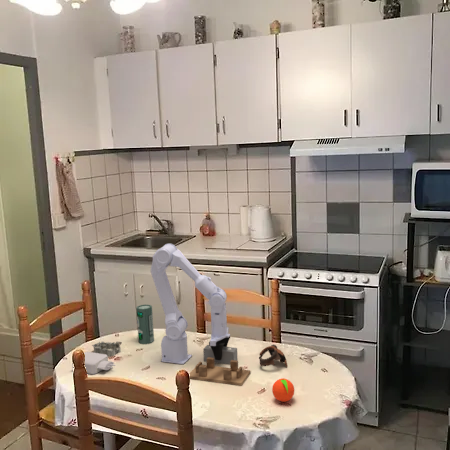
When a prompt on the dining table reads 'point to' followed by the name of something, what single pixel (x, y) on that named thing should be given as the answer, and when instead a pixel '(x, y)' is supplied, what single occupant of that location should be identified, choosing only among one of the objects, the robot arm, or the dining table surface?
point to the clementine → (283, 390)
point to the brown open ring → (272, 356)
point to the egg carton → (104, 348)
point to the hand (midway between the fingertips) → (220, 357)
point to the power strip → (227, 354)
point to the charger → (96, 362)
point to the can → (145, 324)
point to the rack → (220, 373)
